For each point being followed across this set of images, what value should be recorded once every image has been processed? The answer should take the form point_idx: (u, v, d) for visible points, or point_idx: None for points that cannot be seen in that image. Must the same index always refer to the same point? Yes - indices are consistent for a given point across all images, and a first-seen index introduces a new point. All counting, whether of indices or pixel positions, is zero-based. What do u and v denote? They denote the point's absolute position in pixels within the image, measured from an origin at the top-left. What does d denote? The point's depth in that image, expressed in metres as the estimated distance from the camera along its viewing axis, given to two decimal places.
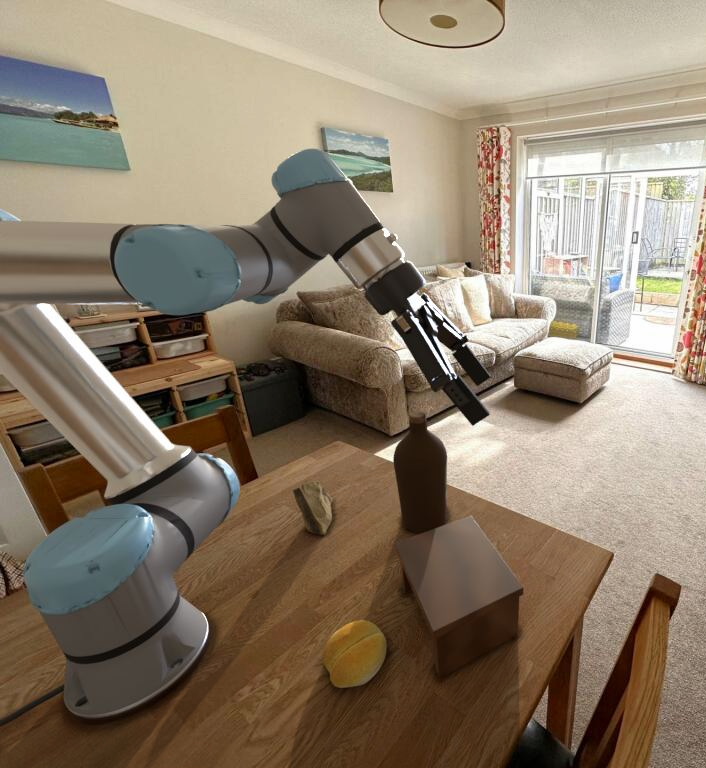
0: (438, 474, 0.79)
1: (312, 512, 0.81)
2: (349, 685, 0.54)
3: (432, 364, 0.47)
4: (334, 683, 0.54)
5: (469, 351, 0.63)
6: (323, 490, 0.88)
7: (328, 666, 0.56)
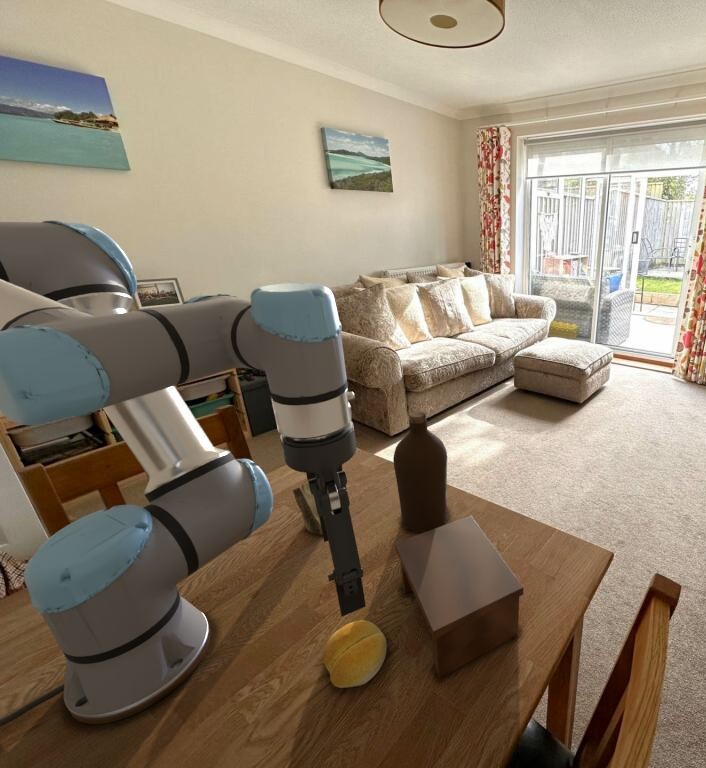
0: (438, 474, 0.79)
1: (312, 512, 0.81)
2: (349, 685, 0.54)
3: (350, 556, 0.42)
4: (334, 683, 0.54)
5: None
6: None
7: (328, 666, 0.56)
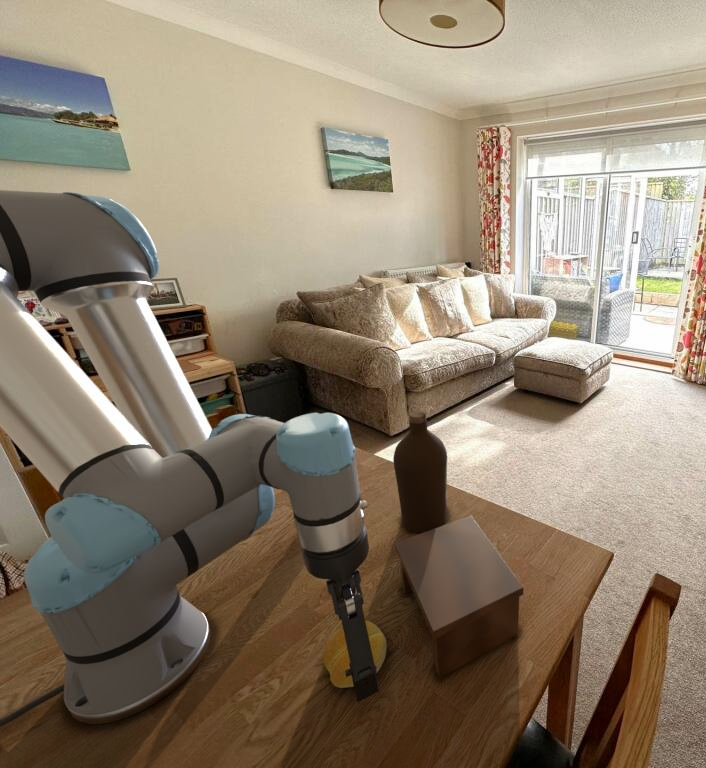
0: (438, 474, 0.79)
1: None
2: (349, 685, 0.54)
3: (364, 656, 0.47)
4: (334, 683, 0.54)
5: None
6: None
7: (328, 666, 0.56)
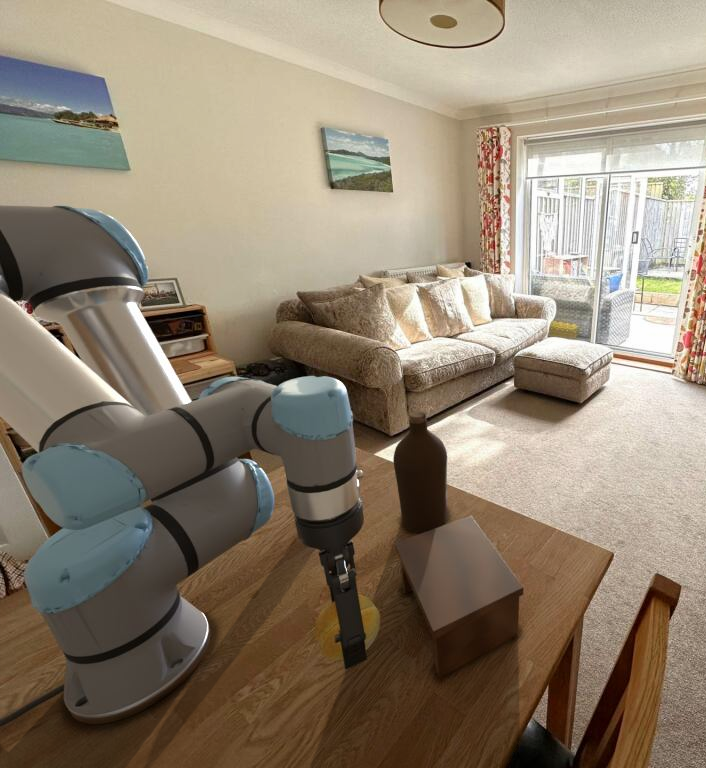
0: (438, 474, 0.79)
1: None
2: (341, 658, 0.53)
3: (355, 625, 0.47)
4: (326, 655, 0.53)
5: None
6: None
7: (320, 639, 0.55)
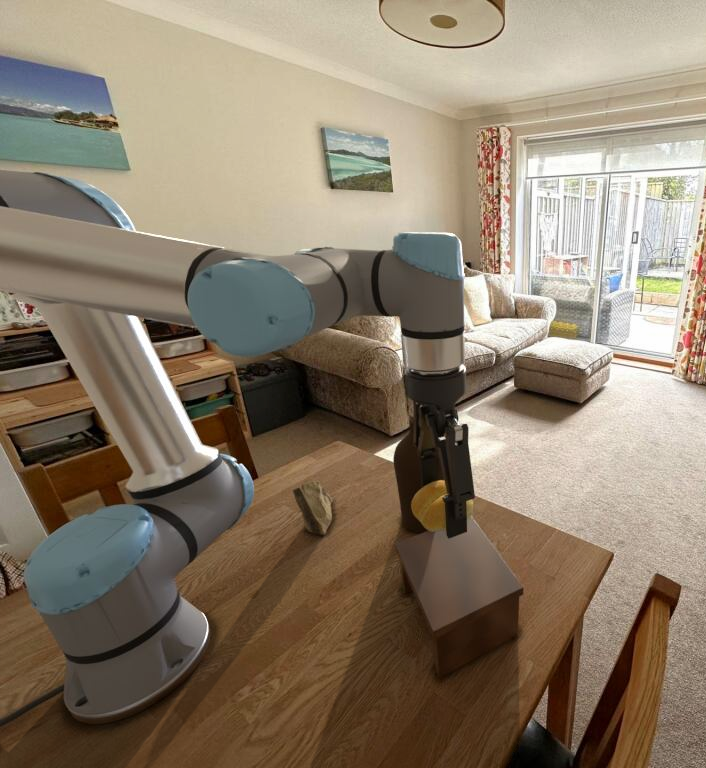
0: None
1: (312, 512, 0.81)
2: (443, 528, 0.54)
3: (466, 481, 0.48)
4: (428, 526, 0.54)
5: (437, 462, 0.60)
6: (323, 490, 0.88)
7: (418, 514, 0.56)
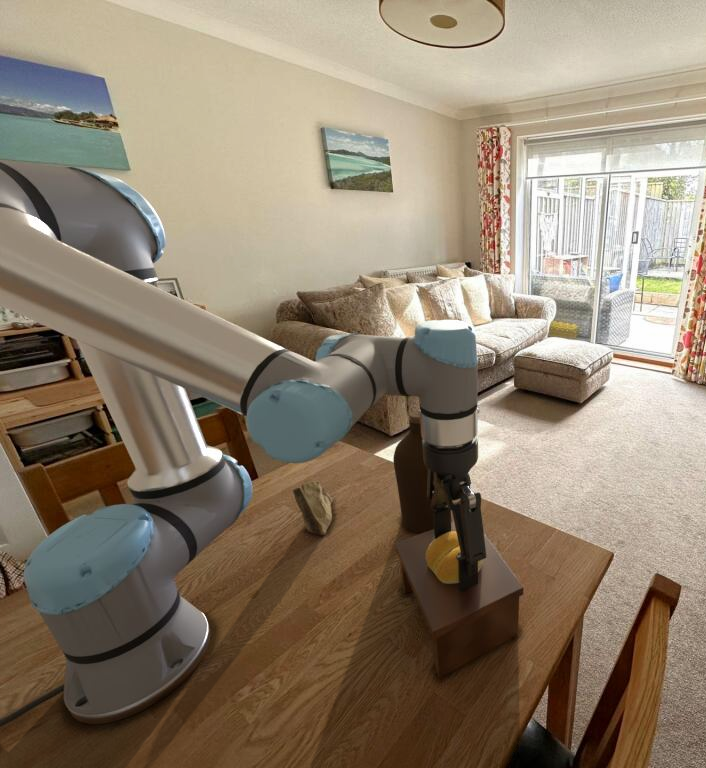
0: None
1: (312, 512, 0.81)
2: (456, 580, 0.58)
3: (479, 543, 0.53)
4: (442, 579, 0.59)
5: (449, 515, 0.65)
6: (323, 490, 0.88)
7: (433, 566, 0.60)
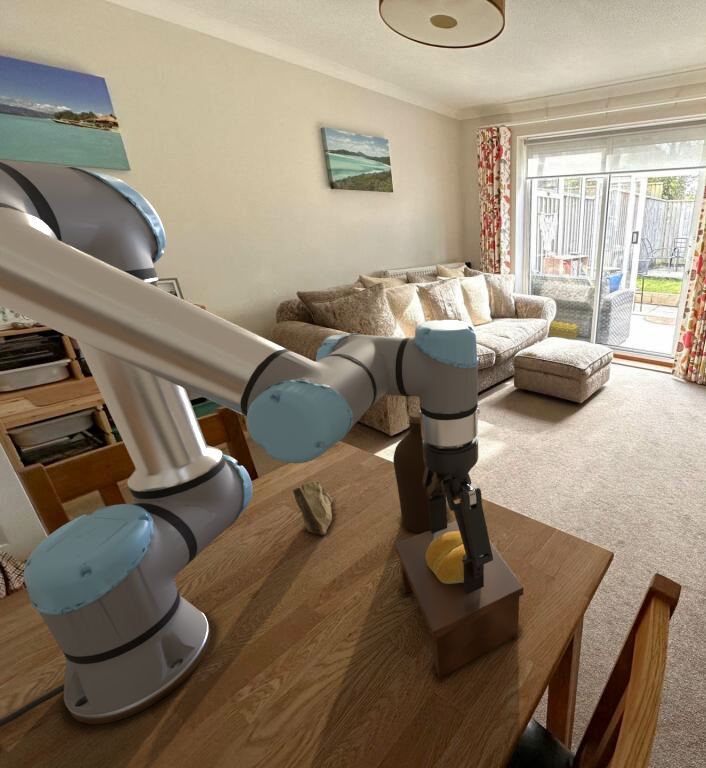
0: None
1: (312, 512, 0.81)
2: (456, 580, 0.58)
3: (483, 543, 0.52)
4: (442, 579, 0.59)
5: (444, 502, 0.66)
6: (323, 490, 0.88)
7: (433, 566, 0.60)
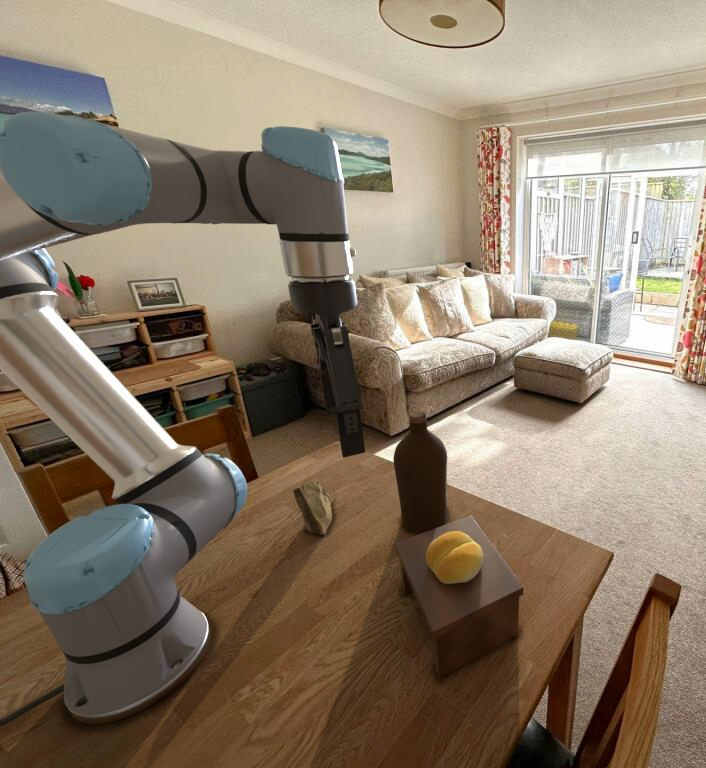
0: (438, 474, 0.79)
1: (312, 512, 0.81)
2: (456, 580, 0.58)
3: (350, 387, 0.46)
4: (442, 579, 0.59)
5: None
6: (323, 490, 0.88)
7: (433, 566, 0.60)
